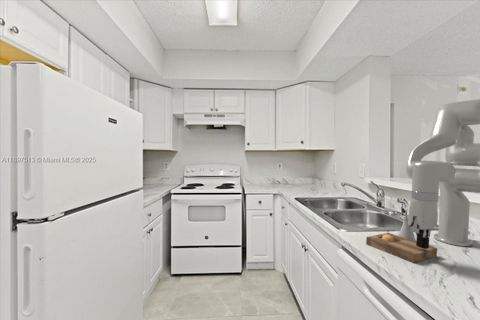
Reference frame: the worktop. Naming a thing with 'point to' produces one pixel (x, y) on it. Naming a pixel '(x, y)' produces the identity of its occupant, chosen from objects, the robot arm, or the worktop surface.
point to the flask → (406, 230)
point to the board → (402, 248)
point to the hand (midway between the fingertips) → (422, 247)
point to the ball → (388, 238)
